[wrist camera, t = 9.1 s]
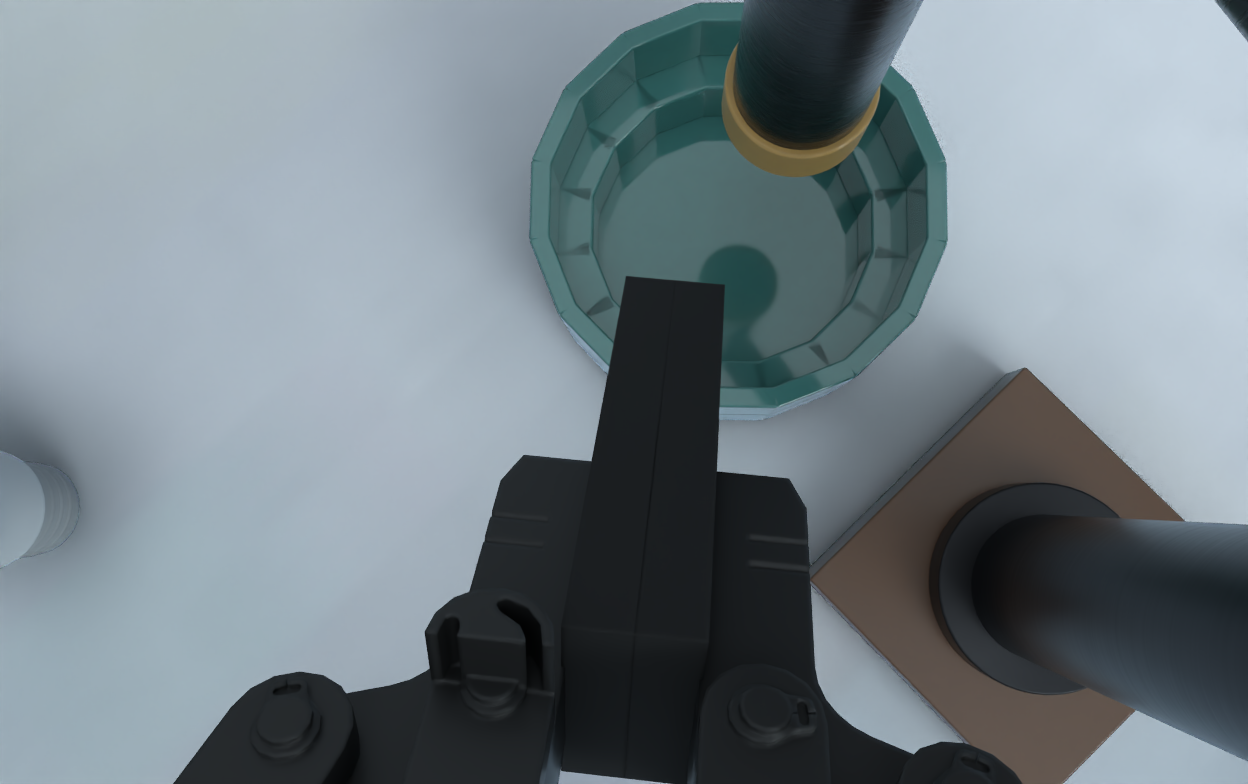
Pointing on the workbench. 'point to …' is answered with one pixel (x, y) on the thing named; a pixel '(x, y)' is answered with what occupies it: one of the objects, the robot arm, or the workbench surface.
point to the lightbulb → (34, 508)
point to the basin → (733, 216)
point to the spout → (820, 77)
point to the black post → (1046, 590)
